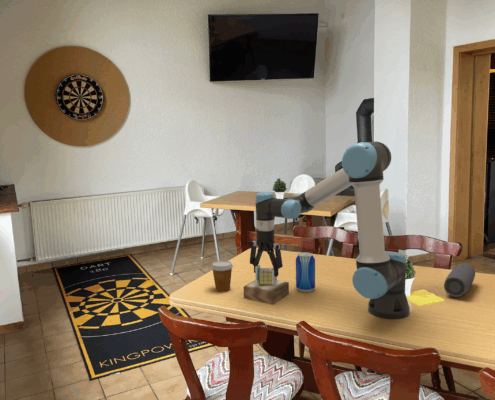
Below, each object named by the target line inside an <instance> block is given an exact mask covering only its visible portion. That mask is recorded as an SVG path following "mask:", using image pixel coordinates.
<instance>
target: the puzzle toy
mask: <svg viewBox="0 0 495 400" xmlns="http://www.w3.org/2000/svg"><path fill="white" fill-rule="evenodd" d="M272 269H274V268H273V267H260V270H259V284H260V285H272Z"/></svg>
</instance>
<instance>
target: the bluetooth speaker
mask: <svg viewBox="0 0 495 400" xmlns="http://www.w3.org/2000/svg"><path fill="white" fill-rule="evenodd" d="M475 278H476V270H475V269H474V267H473V266H472V265H471V264H469V263H466V262H462V263H459V264H457V265H456V266H455V267H454V268H453V269H452V270H450V272H449V274H448V275H447V277H446V278H445V280H444V283H443V288H444V291H445V292H446V293H447V294H448V295H449V296H451V297H454V298H459V297H462V296H463V295H465V294H466V293H467V291H469V289H470V288H471V287H472V285H473V283H474V280H475Z"/></svg>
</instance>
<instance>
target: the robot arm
mask: <svg viewBox="0 0 495 400" xmlns="http://www.w3.org/2000/svg"><path fill="white" fill-rule="evenodd" d="M391 163H392V152H391V150H390V149H389V146H387V145H386V144H385V143H383V142H381V141H361V142H357V143H356V142H355V143H354V144H352V145H350V146H348V147H347V148H346V149H345V151H344V152H343V155H342V158H341V166H342V168H341V169H338V170H337V171H336V172H334V173H332V174H331V175H329V176H328V177H326V178H325V179H323V180H320V181H319V182H318V183H316V184H315V185H313V186H312V187H310V188H308V189H306V190H305V191H303V192H302V193H300V194H299V195H296V196H293V197H289V198H276V197H275V195H274V193H273V192H269V191H263V192H261V191H260V192H257V193H256V195H255V202H254V203H255V214H256V215H255V225H256V226H255V229H256V231H255V233H256V234H255V235H256V240H252V241H250V254H249V255H250V256H249V264H250V265H252V266H253V273H254V274H255V275H254V276H255V280H256V281H259V270H260V268H261V265H260V260H261V258H262V255H263V252H266V253H267V255H268V257H269V259H270V262H271V265H272V268H273V269H272V285H274V284H276V283H277V280H278V277H279V269H281V268H283V267H284V265H283V260H282V259H283V257H282V251H281V248H282V245H281V244H280V243H279V244H277V243H276V242H275V230H274V229H275V218H283V219H288V220H290V219H293V220H294V219H298V218H299V216H300V215H301V214H305V213H308V212H311V211H312V210H314V209H315V207H317V206H318V205H320V204H322V203H323V202H325V201H327V200H329V199H330V198H332V197H334V196H336V195H337V194H339V193H341V192H342V191H344V190H346V189H348V188H349V187H351V186H352V187H353V190H354V191H353V192H354V203H355V212H356V213H355V214H356V226H357V237H358V249H359V254H358V256H357V257H356V259H355V262H356V263H355V264H356V266H355V267H356V270H355V271H354V273H353V275H352V279H351V280H352V285H353V287H354V289H355V291H356V292H357V293H358V294H359V295H361V296H362V297H363V298H366V299H369V300H368V303H367V311H368V312H369V313H370V314H372V315H373V316H376V317H379V318H383V319H390V320H392V319H393V320H394V319H396V320H397V319H403V318H407V317H408V316H409V315H410V305H409V301H408V298H407V295H406V275H407V273H406V272H407V258H406V255H405V254H403V253H401V252H397V251H388V250H385V238H384V237H385V236H384V235H385V234H384V225H383V224H384V223H383V212H382V203H381V202H382V201H381V200H382V199H381V188H380V187H381V186H380V185H381V184H382V182H383V181H384V179H385V178H384V171H386V170H387V169H388V168H389V166H390V164H391ZM257 247H258V248H257Z"/></svg>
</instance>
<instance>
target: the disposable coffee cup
mask: <svg viewBox="0 0 495 400" xmlns="http://www.w3.org/2000/svg"><path fill="white" fill-rule="evenodd" d="M210 267H211V269H212V275H213V281H214V287H215V290H216V292H218V293H224V292H228V291H230V290H231V281H232V272H233V268H234V267H233V263H232V262H231V261H228V260H217V261H214V262H212V265H211V266H210Z"/></svg>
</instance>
